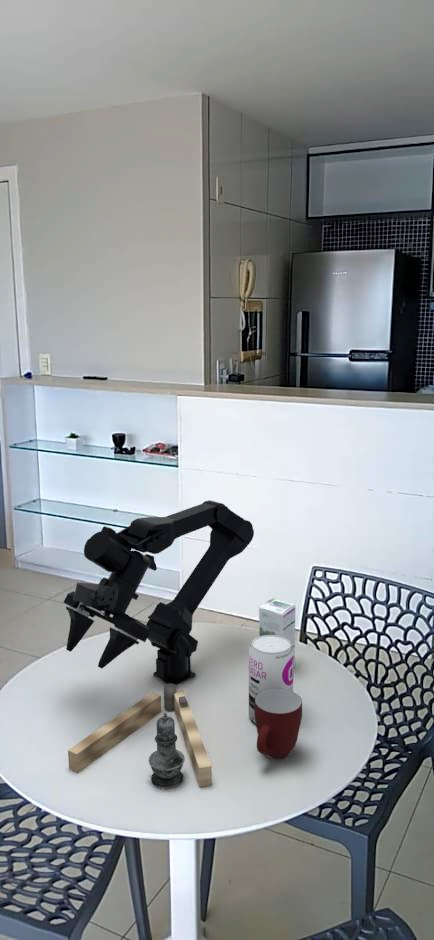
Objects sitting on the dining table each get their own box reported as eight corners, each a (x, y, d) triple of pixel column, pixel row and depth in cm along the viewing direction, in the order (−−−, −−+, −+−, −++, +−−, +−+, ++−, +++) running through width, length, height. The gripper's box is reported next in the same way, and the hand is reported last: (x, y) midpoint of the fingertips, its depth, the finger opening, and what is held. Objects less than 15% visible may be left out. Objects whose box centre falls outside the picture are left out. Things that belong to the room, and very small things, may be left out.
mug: (287, 781, 119) (288, 726, 116) (241, 768, 122) (241, 715, 120) (307, 745, 128) (308, 694, 126) (264, 734, 131) (264, 684, 129)
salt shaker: (149, 768, 122) (146, 703, 120) (184, 765, 123) (183, 701, 120) (149, 791, 117) (146, 724, 114) (185, 788, 117) (184, 721, 114)
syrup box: (295, 666, 155) (296, 603, 152) (281, 678, 151) (282, 612, 147) (272, 659, 159) (273, 596, 155) (257, 670, 154) (258, 606, 150)
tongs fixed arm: (163, 705, 141) (162, 684, 140) (182, 702, 142) (182, 681, 141) (188, 789, 117) (187, 764, 116) (211, 785, 118) (211, 760, 117)
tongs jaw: (153, 708, 140) (152, 692, 139) (161, 711, 139) (160, 695, 138) (69, 768, 122) (67, 750, 122) (77, 772, 121) (76, 754, 120)
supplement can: (298, 711, 139) (299, 638, 135) (283, 734, 132) (284, 657, 128) (258, 701, 142) (258, 630, 139) (241, 723, 135) (241, 649, 131)
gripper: (65, 552, 138) (23, 628, 134) (131, 578, 126) (87, 663, 121) (102, 574, 146) (64, 647, 141) (167, 601, 133) (127, 681, 129)
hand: (83, 658), depth 133 cm, fingers open, 9 cm apart
